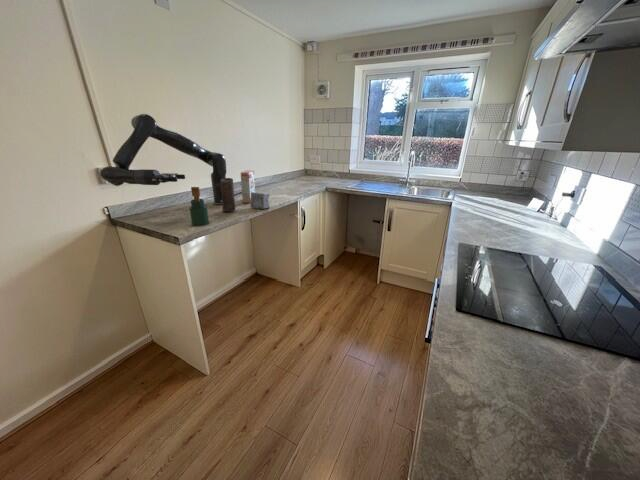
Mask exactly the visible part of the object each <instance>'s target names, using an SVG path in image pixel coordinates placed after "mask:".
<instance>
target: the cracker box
mask: <svg viewBox="0 0 640 480" xmlns="http://www.w3.org/2000/svg"><path fill="white" fill-rule="evenodd" d="M240 182H241V183H240V185H241V186H240V187H241V192H242V193H241V197H242V198H241V199H242V203H243V204H251V192H256V186H255V183H256V182H255V171H254V170H247V169H245V170H244V171H241V172H240Z"/></svg>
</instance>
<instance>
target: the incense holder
mask: <svg viewBox="0 0 640 480" xmlns="http://www.w3.org/2000/svg"><path fill="white" fill-rule="evenodd" d="M269 199H270V193H268V192H266V193H265V192H259V191H255V192H251V203H250V208H256V209H257V210H260V209H261V210H263V209H269V208H270V204H269Z"/></svg>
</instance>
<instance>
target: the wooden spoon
mask: <svg viewBox="0 0 640 480" xmlns="http://www.w3.org/2000/svg"><path fill="white" fill-rule="evenodd" d="M190 189H191V190H190V191H191V196H192V197H193V199H194V201H200V199H201V197H200V196H201V191H200V186H191V187H190Z"/></svg>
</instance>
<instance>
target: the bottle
mask: <svg viewBox="0 0 640 480" xmlns="http://www.w3.org/2000/svg"><path fill="white" fill-rule="evenodd" d="M208 211H209V210H208V206H207V205H206V204H205V200H204V198H200V201H194V198H193V199H191V200H190V206H189V214H190V220H191V225H192V226H197V227H198V226H199V227H201V226H205V225H209V223H210V219H209V212H208Z"/></svg>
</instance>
